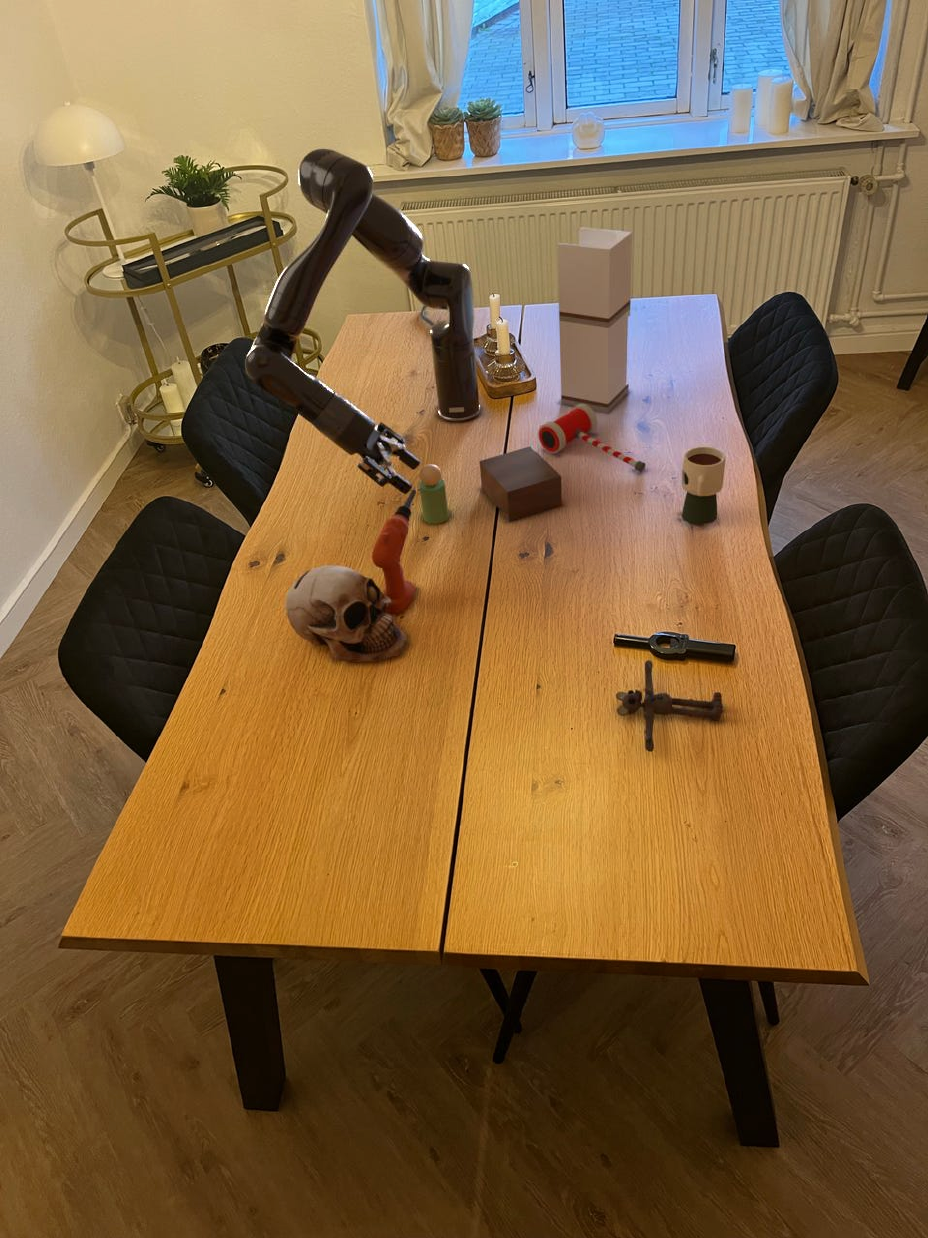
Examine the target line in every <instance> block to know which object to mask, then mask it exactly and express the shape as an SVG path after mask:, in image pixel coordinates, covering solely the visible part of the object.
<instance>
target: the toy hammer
mask: <svg viewBox="0 0 928 1238" xmlns="http://www.w3.org/2000/svg"><path fill="white" fill-rule="evenodd" d="M597 427H598V418H597V415H596V413H595V410H592V409H591V408H590V407H589V406H588V405H586V404H578V405H577V406H573V407H572V408H571V409H570V411H568V413H565V414H564V415H562V416H560V417H559V418H557V419H555V420H554V421H547V422H545V423H543V424H541V425H540V426H539V428H538V430H537V437H538V441H539V443H540V445H541V446H542V448H543V450H545V451H546V452H547V453H549V454H557V453H559V452H561V451H562V450H564V449H565V447H566V445H568V444H570V443H571V442H572V441H574V440H576V439H579V440H582V441H584V442H585V443H588V444H589V445H592V446H593V447H595V448H597V449H599V450H601V451H603V452H604V453H606V454H609V455H611V456H613V457H614V458H616V459H618V460H619V461H622V462H623V463H626V464H628V465H629V466H631V467H632V468H634V470H636V471H637V472H639V473H642V472H643V471H644V470H645V468H646V462H644V461H642V460H637V459H635V458H633V457H631V456H629V455H626V454H625V453H623V452H621V451H619V450H617V449H615V448H614V447H612V446H609V445H607V444H606V443H603V441H600V440H598V439H596V438H594V437H592V436H590V435H589V434H591V433H593V432H594V431H595V430H596V429H597Z"/></svg>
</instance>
